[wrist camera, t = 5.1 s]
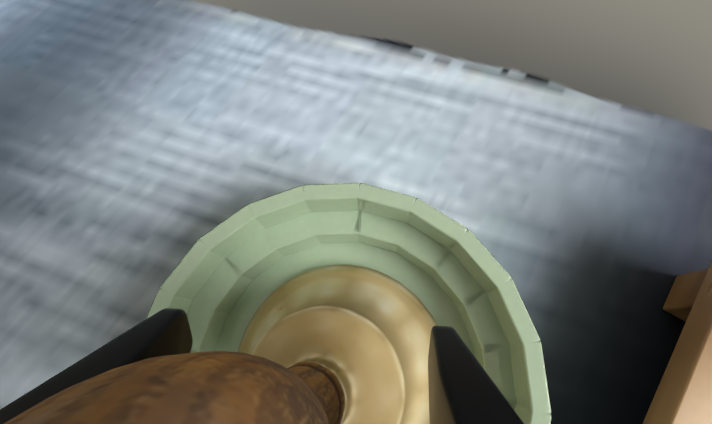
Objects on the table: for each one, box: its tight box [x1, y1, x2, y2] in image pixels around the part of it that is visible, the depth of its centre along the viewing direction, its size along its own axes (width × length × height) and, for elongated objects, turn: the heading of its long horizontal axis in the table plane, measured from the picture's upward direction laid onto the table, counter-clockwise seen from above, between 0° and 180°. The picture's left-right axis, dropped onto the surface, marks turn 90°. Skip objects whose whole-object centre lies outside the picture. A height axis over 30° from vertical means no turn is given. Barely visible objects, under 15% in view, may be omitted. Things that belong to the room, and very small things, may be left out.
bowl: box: [146, 183, 552, 424], centre depth 15 cm, size 13×13×4 cm
